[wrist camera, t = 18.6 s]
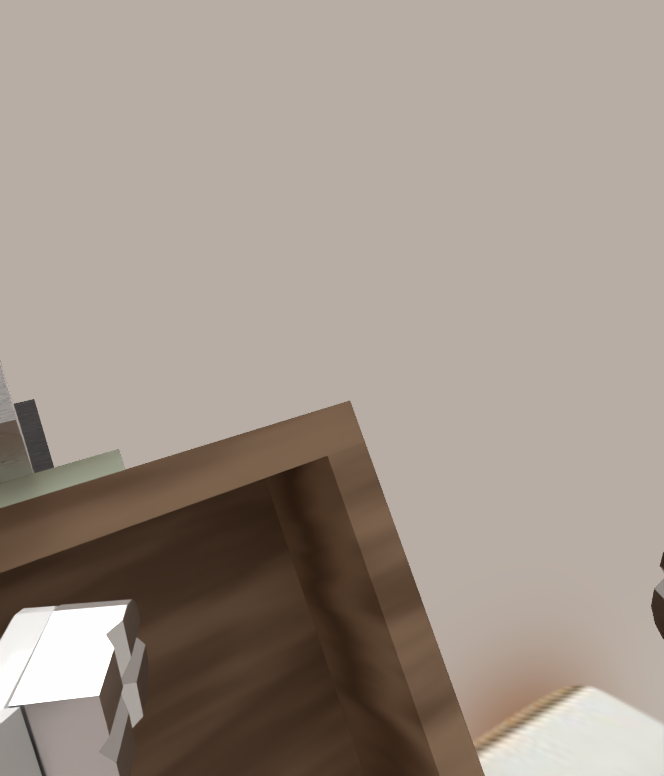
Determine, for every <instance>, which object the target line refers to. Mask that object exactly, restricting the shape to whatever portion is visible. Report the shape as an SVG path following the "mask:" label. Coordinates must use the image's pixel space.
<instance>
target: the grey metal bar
mask: <svg viewBox="0 0 664 776" xmlns="http://www.w3.org/2000/svg"><path fill="white" fill-rule="evenodd" d="M51 468H54V466H53V462H52V459H51V455H50V452H49V449H48V445H47V442H46V438H45V435H44V432H43V428H42V425H41V421H40V418H39V415H38V411H37V408H36V404H35V401H34V399H33V400H29V401H24V402H20V403H16V404H13V401H12V398H11V394H10V391H9V388H8V385H7V381H6V378H5V375H4V371H3V368H2V365H1V362H0V483H2V482H6V481H9V480H13V479H16V478H20V477H23V476H27V475H30V474H34V473H37V472H41V471H44V470H48V469H51Z"/></svg>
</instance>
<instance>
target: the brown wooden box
mask: <svg viewBox="0 0 664 776" xmlns="http://www.w3.org/2000/svg"><path fill="white" fill-rule="evenodd" d="M129 599H132V600H133V601H135V602H136V603H137V607H138V611H139V616H140V620H141V621H140V625H139V629H138V633H137V638H138V639H139V640H140V641H142V642H143V643H144V644H145V645H146V651H147V656H148V669H149V678H148V692H147V700H146V705H145V710H144V715H143V717H142V718H141V719H140V720H139V721H138V723H137V724H136V725H135V726H134V727H133V728H132V729H133V734H134V739H135V743H136V752H135V756H134V761H133V765H132V770H131V774H130V776H485V775H484V772H483V770H482V767H481V764H480V761H479V758H478V756H477V753H476V750H475V747H474V744H473V742H472V739H471V736H470V733H469V731H468V728H467V725H466V722H465V720H464V717H463V714H462V711H461V708H460V705H459V703H458V700H457V697H456V694H455V692H454V689H453V686H452V683H451V681H450V678H449V675H448V672H447V670H446V667H445V664H444V661H443V658H442V655H441V653H440V650H439V647H438V644H437V642H436V639H435V636H434V633H433V630H432V628H431V625H430V622H429V620H428V616H427V614H426V611H425V608H424V605H423V603H422V600H421V597H420V594H419V591H418V589H417V586H416V583H415V580H414V577H413V575H412V572H411V569H410V566H409V563H408V561H407V558H406V555H405V552H404V550H403V547H402V544H401V541H400V539H399V536H398V533H397V530H396V527H395V525H394V522H393V519H392V517H391V513H390V511H389V508H388V505H387V503H386V500H385V497H384V494H383V491H382V488H381V486H380V483H379V480H378V477H377V475H376V472H375V469H374V466H373V463H372V461H371V458H370V455H369V453H368V450H367V447H366V444H365V441H364V438H363V435H362V433H361V430H360V427H359V425H358V422H357V419H356V416H355V413H354V411H353V408H352V405H351V402H350V401H347V402H344V403H341V404H338V405H334V406H331V407H328V408H324V409H321V410H318V411H315V412H311V413H308V414H305V415H302V416H298V417H295V418H292V419H289V420H286V421H282V422H279V423H276V424H273V425H269V426H266V427H263V428H260V429H256V430H253V431H250V432H247V433H243V434H240V435H237V436H233V437H230V438H227V439H224V440H220V441H217V442H214V443H210V444H207V445H204V446H201V447H198V448H194V449H191V450H188V451H185V452H181V453H178V454H175V455H172V456H168V457H165V458H162V459H159V460H155V461H152V462H149V463H145V464H142V465H139V466H136V467H133V468H129V469H126V470H125V467H124V464H123V461H122V457H121V454H120V451H119V449H117V450H114V451H111V452H107V453H103V454H100V455H96V456H93V457H90V458H86V459H82V460H79V461H76V462H72V463H68V464H65V465H62V466H58V467H55V468H51V469H48V470H44V471H41V472H37V473H34V474H30V475H27V476H23V477H20V478H16V479H13V480H9V481H6V482H2V483H0V639H1V638H2V636H3V634H4V632H5V630H6V629H7V627H8V625H9V623H10V622H11V620H12V618H13V617H14V615H15V614H17V613H18V612H19V611H21V610H22V609H23V608H36V607H49V606H60V605H65V604H78V603H91V602H104V601H117V600H129Z"/></svg>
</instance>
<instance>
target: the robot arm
mask: <svg viewBox="0 0 664 776" xmlns="http://www.w3.org/2000/svg"><path fill="white" fill-rule="evenodd" d="M660 567H661V568H662V570H663V572H664V552H663V556H662V560H661V563H660ZM651 607H652V612H653V616H654V621H655V624H656V626H657V628H658V630H659V632H660V634H661V636H662V638H663V639H664V579H663V580H662V581H661V582H660V583H659V584H658V585H657V586H656V587H655V589H654V593H653V598H652V604H651ZM140 621H141V620H140V616H139V611H138V607H137V603H136V602H135V601H133V600H132V599H129V600H117V601H104V602H91V603H78V604H65V605H60V606H49V607H36V608H23V609H22V610H21V611H19V612H18V613H17V614H15V615H14V617H13V618H12V620H11V622H10V623H9V625H8V627H7V629H6V630H5V632H4V634H3V636H2V638H1V639H0V776H130V774H131V770H132V765H133V761H134V756H135V752H136V743H135V739H134V734H133V729H132V728H133V727H134V726H135V725H136V724H137V723H138V721H139V720H140V719H141V718H142V717H143V715H144V710H145V705H146V700H147V692H148V678H149V669H148V656H147V651H146V645H145V644H144V643H143V642H142V641H140V640H139V639H138V638H137V633H138V629H139V625H140Z"/></svg>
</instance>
